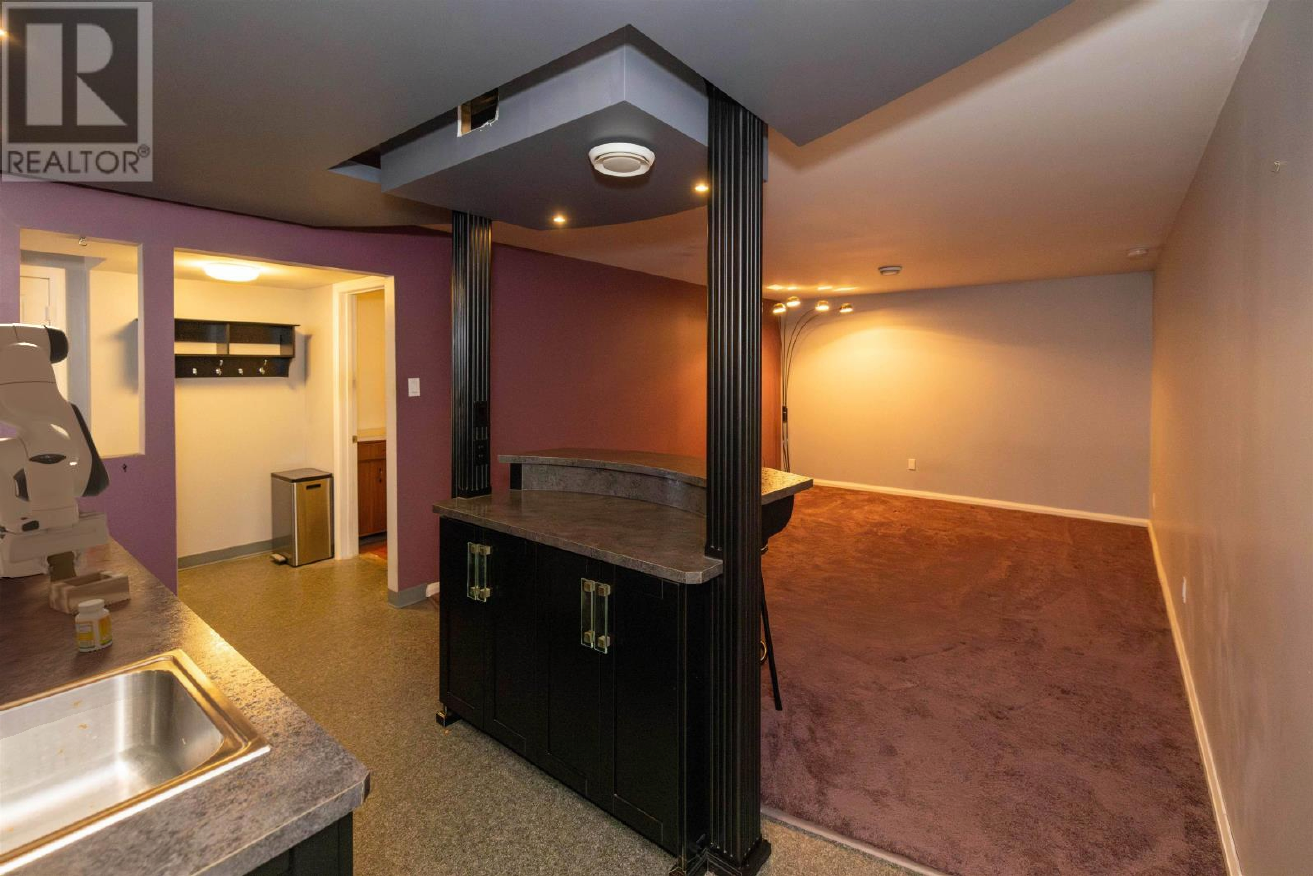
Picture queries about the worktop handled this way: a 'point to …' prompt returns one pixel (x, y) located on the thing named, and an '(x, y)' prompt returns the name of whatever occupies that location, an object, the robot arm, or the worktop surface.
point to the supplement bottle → (93, 626)
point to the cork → (62, 566)
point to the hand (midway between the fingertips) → (62, 569)
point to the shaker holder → (88, 590)
